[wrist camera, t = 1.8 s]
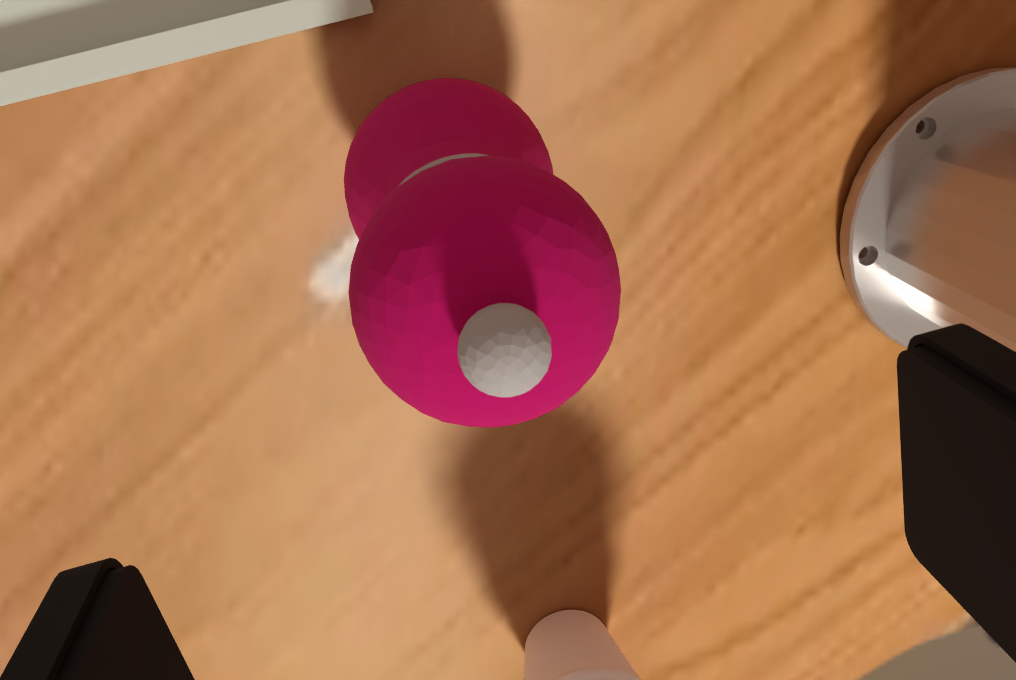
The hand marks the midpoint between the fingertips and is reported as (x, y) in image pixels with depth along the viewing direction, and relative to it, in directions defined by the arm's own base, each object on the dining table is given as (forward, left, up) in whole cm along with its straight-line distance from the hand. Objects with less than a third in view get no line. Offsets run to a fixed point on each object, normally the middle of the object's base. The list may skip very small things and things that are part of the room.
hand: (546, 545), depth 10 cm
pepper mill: (0, 0, -26) cm, 26 cm away
